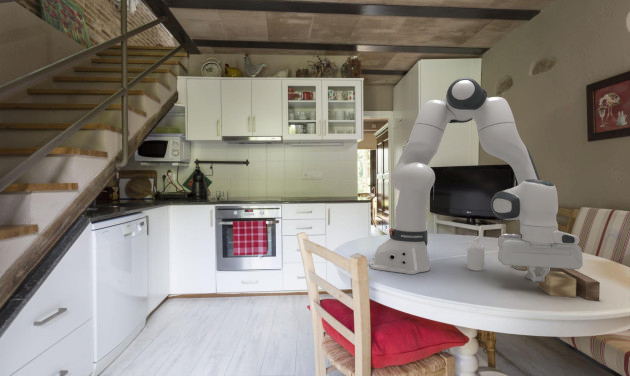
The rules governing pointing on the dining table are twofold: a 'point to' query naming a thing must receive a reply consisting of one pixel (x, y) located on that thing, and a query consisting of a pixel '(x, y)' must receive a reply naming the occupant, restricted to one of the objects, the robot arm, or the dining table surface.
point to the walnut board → (582, 284)
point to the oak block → (559, 284)
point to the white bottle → (475, 255)
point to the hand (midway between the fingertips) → (537, 281)
